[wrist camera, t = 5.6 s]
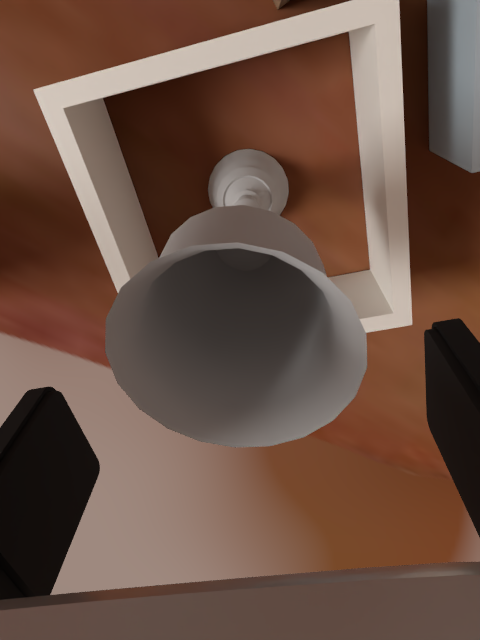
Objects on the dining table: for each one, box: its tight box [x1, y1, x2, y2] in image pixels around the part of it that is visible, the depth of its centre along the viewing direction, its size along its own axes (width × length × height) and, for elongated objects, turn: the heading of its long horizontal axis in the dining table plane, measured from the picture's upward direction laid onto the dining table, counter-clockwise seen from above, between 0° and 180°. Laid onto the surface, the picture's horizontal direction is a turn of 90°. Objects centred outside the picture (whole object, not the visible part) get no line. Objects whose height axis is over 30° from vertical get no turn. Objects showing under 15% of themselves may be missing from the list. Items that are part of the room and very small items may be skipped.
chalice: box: [105, 149, 367, 447], centre depth 20 cm, size 7×7×18 cm
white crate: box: [33, 0, 412, 333], centre depth 25 cm, size 16×16×6 cm
